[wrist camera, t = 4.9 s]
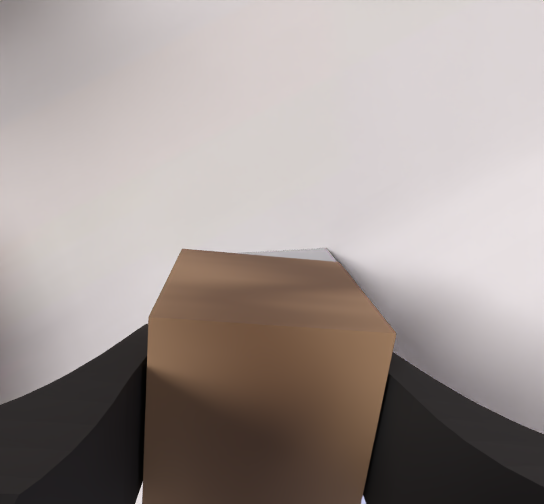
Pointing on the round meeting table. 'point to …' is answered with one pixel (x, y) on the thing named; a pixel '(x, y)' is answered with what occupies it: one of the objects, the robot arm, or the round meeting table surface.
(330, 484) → the walnut cube
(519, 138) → the round meeting table surface
